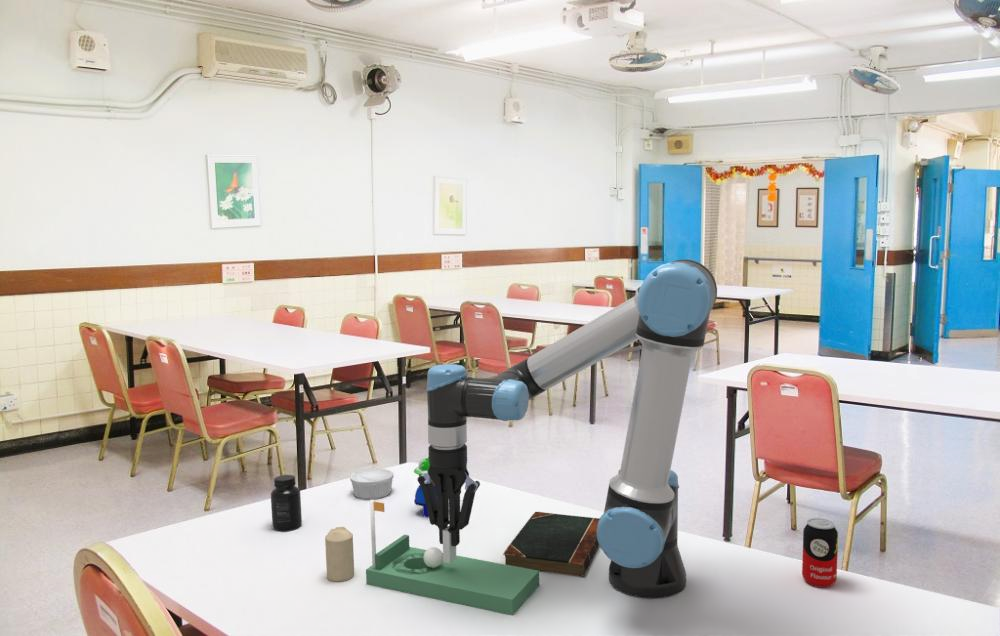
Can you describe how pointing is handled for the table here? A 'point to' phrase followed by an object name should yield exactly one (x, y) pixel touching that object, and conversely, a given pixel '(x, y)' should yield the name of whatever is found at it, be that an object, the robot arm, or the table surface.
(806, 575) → the beverage can
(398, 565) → the green
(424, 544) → the table surface
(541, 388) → the robot arm
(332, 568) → the candle
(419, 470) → the toy
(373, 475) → the ramekin
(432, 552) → the ball
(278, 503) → the supplement bottle
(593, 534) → the book
